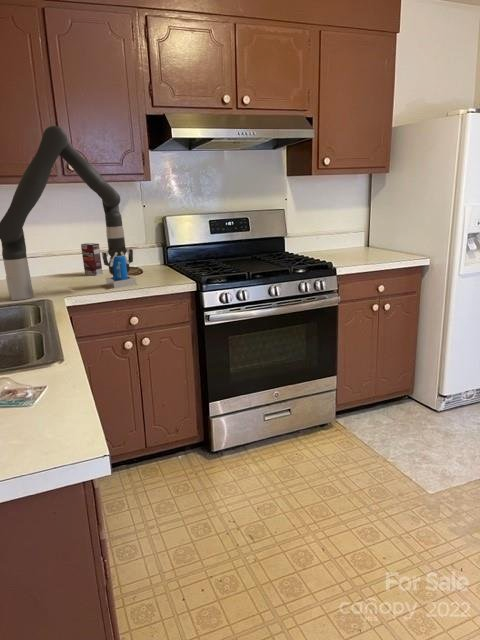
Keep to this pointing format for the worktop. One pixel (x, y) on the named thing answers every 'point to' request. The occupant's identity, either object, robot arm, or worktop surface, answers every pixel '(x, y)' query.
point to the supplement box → (91, 258)
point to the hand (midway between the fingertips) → (119, 273)
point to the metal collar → (121, 282)
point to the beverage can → (119, 268)
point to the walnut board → (106, 287)
